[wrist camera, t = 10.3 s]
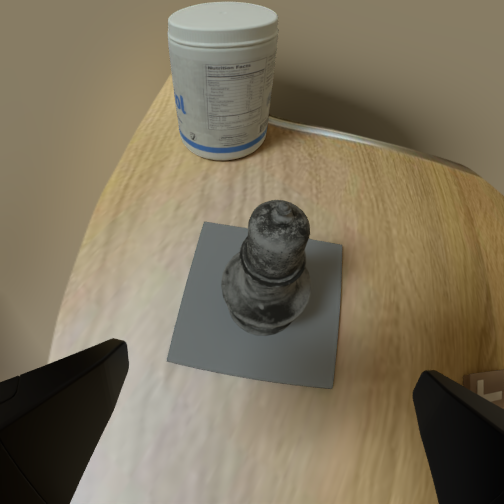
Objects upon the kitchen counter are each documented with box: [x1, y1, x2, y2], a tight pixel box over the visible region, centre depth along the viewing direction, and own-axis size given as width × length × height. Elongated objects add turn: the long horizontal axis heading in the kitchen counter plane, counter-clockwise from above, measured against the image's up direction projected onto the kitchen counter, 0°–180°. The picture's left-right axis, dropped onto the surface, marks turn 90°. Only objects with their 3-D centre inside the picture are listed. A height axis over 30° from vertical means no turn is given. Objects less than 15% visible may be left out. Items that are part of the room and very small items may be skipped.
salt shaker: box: [221, 200, 311, 336], centre depth 18 cm, size 6×6×12 cm
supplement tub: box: [168, 2, 278, 160], centre depth 26 cm, size 10×10×15 cm
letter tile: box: [463, 369, 504, 409], centre depth 19 cm, size 5×5×2 cm
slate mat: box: [167, 222, 342, 389], centre depth 23 cm, size 12×12×1 cm
